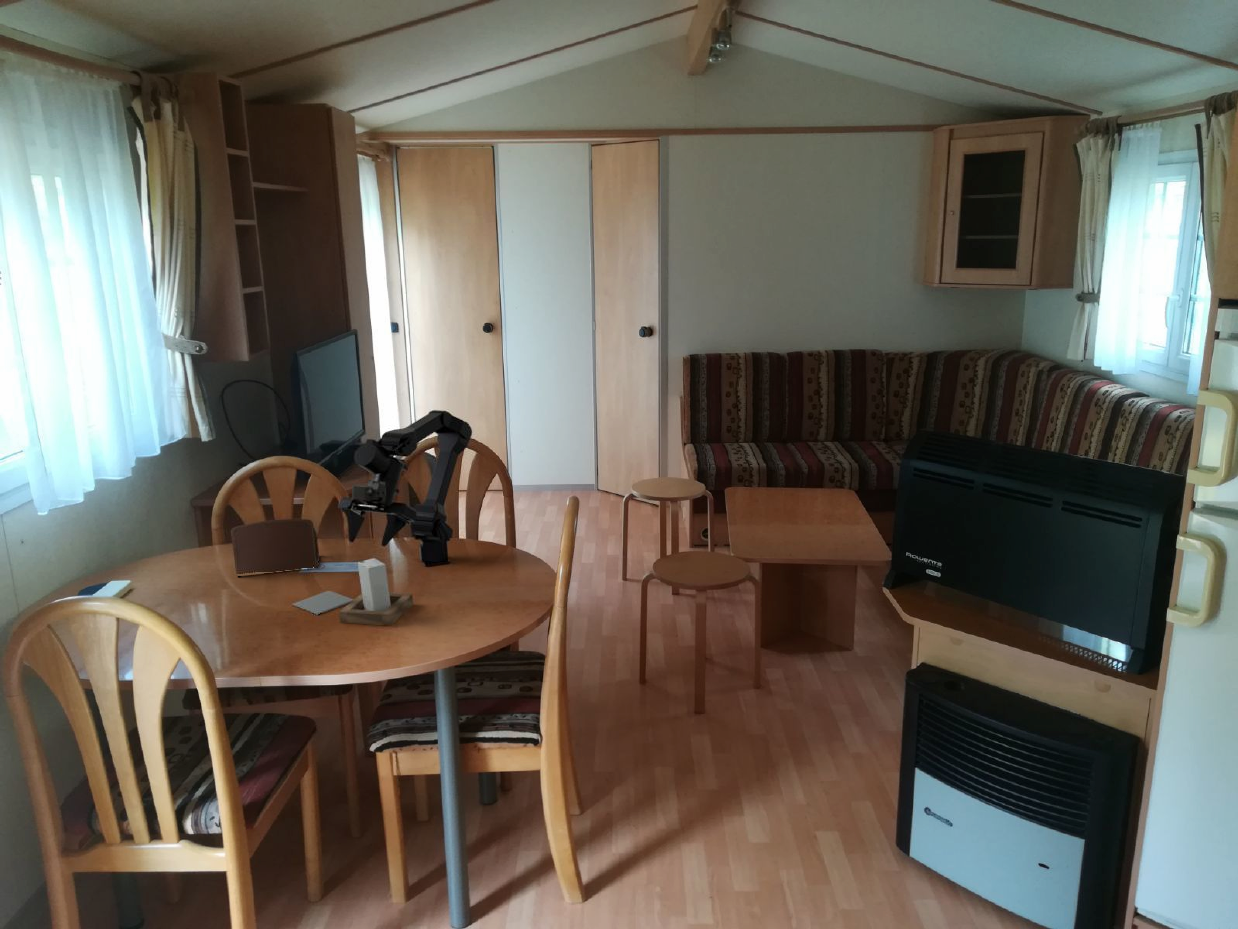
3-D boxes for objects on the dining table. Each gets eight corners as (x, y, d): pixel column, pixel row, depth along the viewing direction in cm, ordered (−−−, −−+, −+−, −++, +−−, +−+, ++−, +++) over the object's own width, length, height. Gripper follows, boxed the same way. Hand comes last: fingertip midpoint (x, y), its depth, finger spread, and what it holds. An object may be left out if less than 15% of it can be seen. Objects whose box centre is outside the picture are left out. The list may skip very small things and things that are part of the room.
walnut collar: (365, 601, 213) (364, 591, 213) (413, 604, 211) (412, 594, 210) (340, 622, 202) (338, 612, 201) (390, 625, 200) (389, 614, 199)
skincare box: (392, 614, 206) (387, 563, 203) (374, 620, 203) (368, 568, 200) (380, 606, 210) (375, 556, 207) (362, 612, 207) (357, 561, 204)
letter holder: (318, 569, 236) (312, 517, 233) (236, 578, 231) (229, 525, 228) (319, 556, 246) (313, 506, 242) (241, 565, 241) (233, 514, 237)
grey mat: (329, 592, 220) (328, 590, 220) (354, 601, 214) (354, 599, 214) (292, 605, 212) (291, 604, 212) (317, 615, 206) (316, 613, 206)
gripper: (334, 466, 214) (313, 529, 209) (399, 472, 207) (380, 537, 202) (361, 483, 223) (342, 543, 218) (425, 489, 216) (407, 552, 211)
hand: (366, 544), depth 212 cm, fingers open, 9 cm apart
